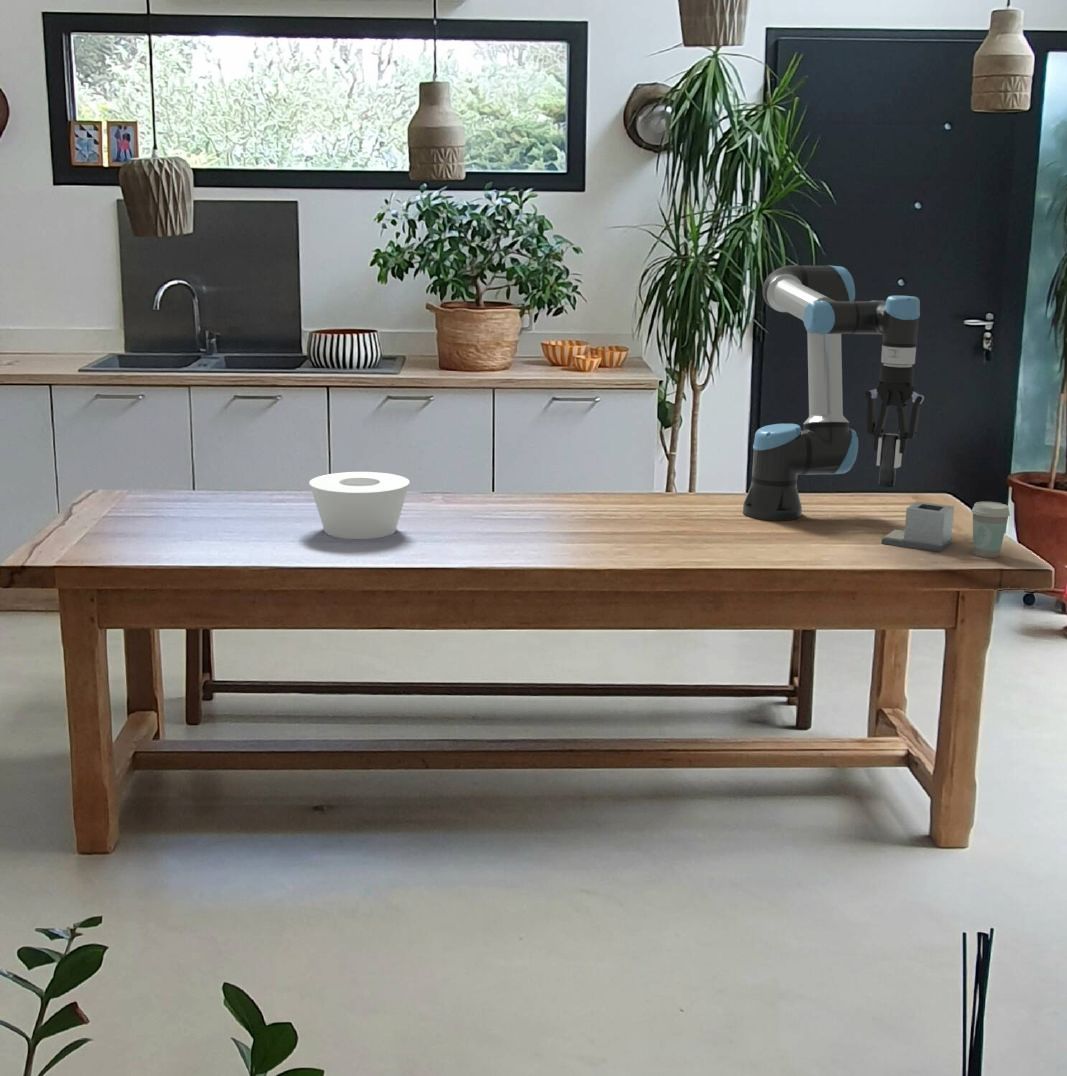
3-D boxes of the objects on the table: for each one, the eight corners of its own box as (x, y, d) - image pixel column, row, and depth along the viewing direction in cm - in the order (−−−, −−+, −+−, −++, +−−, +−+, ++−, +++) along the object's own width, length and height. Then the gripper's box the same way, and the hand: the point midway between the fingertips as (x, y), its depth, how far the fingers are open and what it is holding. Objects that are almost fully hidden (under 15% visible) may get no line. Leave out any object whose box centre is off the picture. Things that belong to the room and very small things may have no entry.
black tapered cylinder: (876, 485, 313) (881, 434, 310) (881, 483, 316) (885, 432, 313) (891, 487, 311) (896, 436, 308) (896, 485, 314) (901, 434, 311)
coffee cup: (961, 550, 320) (966, 500, 317) (996, 550, 321) (1001, 500, 318) (975, 559, 312) (981, 509, 309) (1011, 559, 313) (1017, 509, 310)
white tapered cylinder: (428, 526, 332) (428, 479, 329) (372, 547, 311) (372, 497, 308) (348, 514, 343) (348, 468, 340) (289, 533, 322) (288, 484, 319)
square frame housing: (881, 543, 325) (884, 506, 322) (894, 534, 334) (897, 498, 331) (939, 552, 318) (943, 514, 315) (951, 542, 327) (955, 505, 325)
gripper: (856, 363, 308) (848, 463, 314) (928, 369, 299) (918, 472, 305) (867, 360, 314) (859, 459, 320) (938, 366, 305) (928, 467, 311)
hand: (888, 465), depth 313 cm, fingers closed on black tapered cylinder, 3 cm apart
